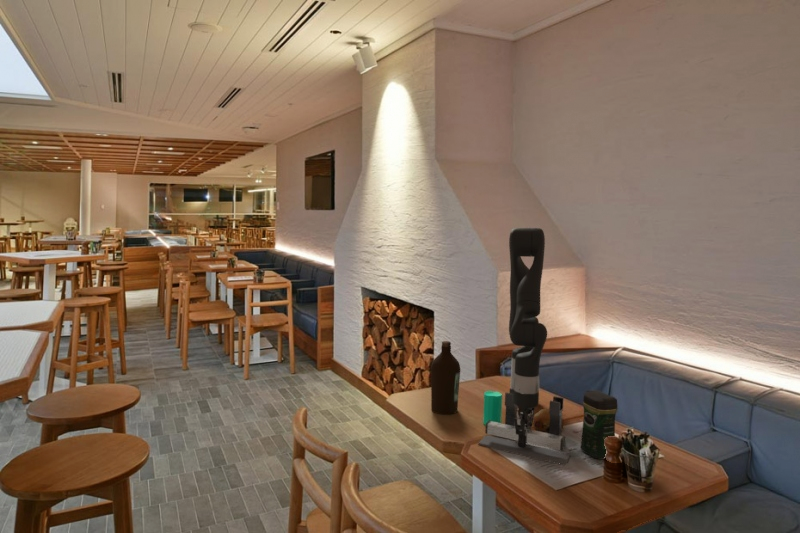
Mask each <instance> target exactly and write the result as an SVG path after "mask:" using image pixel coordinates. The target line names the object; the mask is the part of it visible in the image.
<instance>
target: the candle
mask: <svg viewBox="0 0 800 533" xmlns="http://www.w3.org/2000/svg"><path fill="white" fill-rule="evenodd" d="M502 409H503V394H502V393H501V392H500V391H494V388H493V389H492V390H487V391H484V393H483V416H482V417H483V418H482V422H483V425H485V426H486V423H487V422H488V421H489V420H490V421H492V422H497V423H502V413H503V412H502Z"/></svg>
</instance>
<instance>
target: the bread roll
mask: <svg viewBox="0 0 800 533" xmlns="http://www.w3.org/2000/svg"><path fill="white" fill-rule="evenodd" d="M564 424H565V423H564V420H563V418H562V424H561V431H562V430H563V429H564ZM549 425H550V414H549V408H548V409H547V408H542V409H540V410H539V411H537V412H536V413H534V417H533V428H534V429H535V431H539V432H544V433H549Z"/></svg>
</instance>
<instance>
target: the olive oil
mask: <svg viewBox="0 0 800 533" xmlns="http://www.w3.org/2000/svg"><path fill="white" fill-rule="evenodd" d="M451 344H452V342H451V341H446V340H443V341H441V349H440V350H441V352H440V353H439V354H438V355H437V356H436V357H435V358H434V359H433V360H432V362H431V364H430V365H431V366H430V387H431V388H430V390H431V394H430V395H431V401H430V402H431V404H430V405H431V411H432V412H434V413H435V412H436V414H439V415H453V414H456V413H457V412H458V406H459V405H458V404H459V392H460V380H461V365H460V361H458V359H457V357H455V356H454V354H452V352H451V351H452V350H451V349H452V346H451Z"/></svg>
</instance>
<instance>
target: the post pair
mask: <svg viewBox="0 0 800 533" xmlns="http://www.w3.org/2000/svg"><path fill="white" fill-rule="evenodd" d="M564 399H565V398H564V397H562V396H561V397H560V396H554V395H553V396H552V400H550V401H549V407H548V409H549V414H550V425H549V434H553V435H558V436H562V430H561V424H562V419H563V411H564ZM504 406H505V417H504V418H505V420H504V422H505V423H504V424H507V425H511V426H515V421H514V420H515V418H517V410H519V407H518V406H517V405H515V404H514V403H513V389H511V387H509V392H505V393H504Z"/></svg>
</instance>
